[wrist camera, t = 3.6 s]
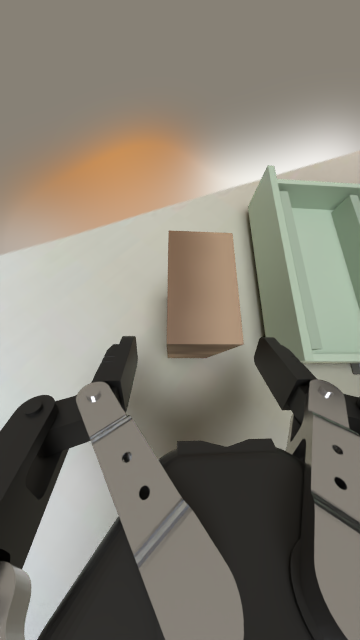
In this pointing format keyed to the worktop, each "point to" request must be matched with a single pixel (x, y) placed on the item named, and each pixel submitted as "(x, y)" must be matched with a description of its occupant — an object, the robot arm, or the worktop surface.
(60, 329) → the worktop surface
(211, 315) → the brown wooden block
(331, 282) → the tray
